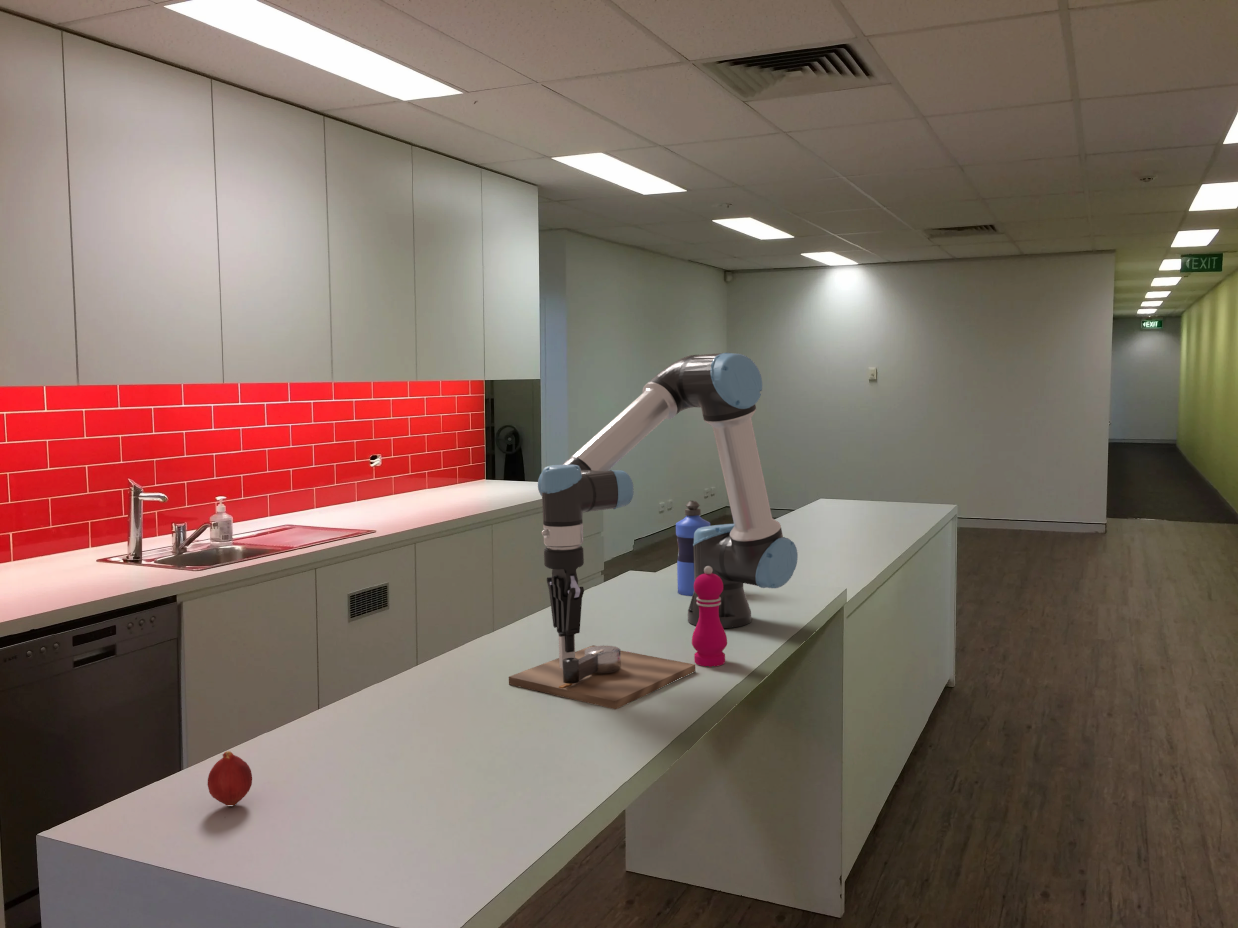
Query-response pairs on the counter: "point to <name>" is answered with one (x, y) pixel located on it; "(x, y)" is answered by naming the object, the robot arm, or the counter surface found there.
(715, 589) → the pepper mill
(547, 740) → the counter surface
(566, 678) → the dark grey dumbbell shape
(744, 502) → the robot arm
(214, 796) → the onion
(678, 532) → the water bottle
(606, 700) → the wooden cutting board
